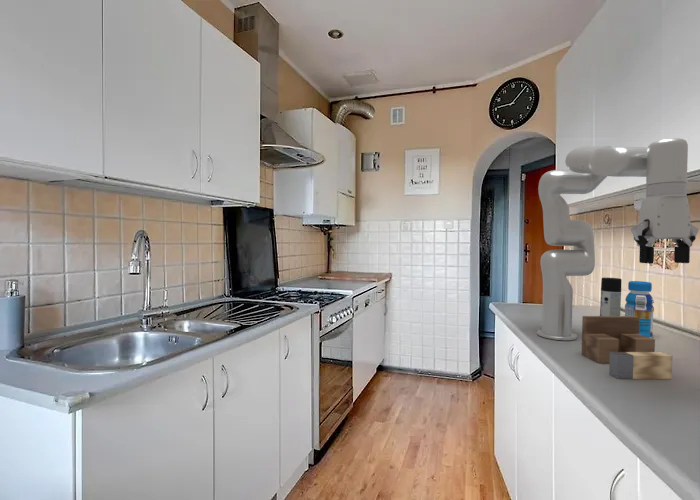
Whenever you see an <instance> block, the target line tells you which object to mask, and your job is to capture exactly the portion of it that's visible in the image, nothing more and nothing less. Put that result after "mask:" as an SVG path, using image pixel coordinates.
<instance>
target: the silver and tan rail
mask: <svg viewBox="0 0 700 500" xmlns="http://www.w3.org/2000/svg"><path fill="white" fill-rule="evenodd" d="M608 364H609V365H608V366H609V369H608V370H609V371H608V372H609V373H608V375H609V376H612V377H613V378H615V379H620V380H621V379H623V380H627V379H628V380H629V379H630V380H631V379H633V380H634V379H635V380H637V379H639V380H643V379H644V380H645V379H647V380H649V379H650V380H654V379H655V380H656V379H657V380H661V379H662V380H666V379H667V380H672V379H673V376H672V374H673V373H672V372H673V371H672V370H673V355H672V354H669V353H665V352H664V351H663V352H662V351H655V352H610V363H608Z"/></svg>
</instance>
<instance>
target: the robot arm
mask: <svg viewBox="0 0 700 500" xmlns="http://www.w3.org/2000/svg"><path fill="white" fill-rule="evenodd" d="M688 145H689V144H688V142H687V140H686V139H683V138H679V137H677V138H676V137H675V138H665V139H660V140H657V141H653V142H652V143H650V144H649V145H648V146H647V147H646V146H618V147H617V146H615V147H613V146H611V145H610V146H609V145H598V146H597V145H596V146H595V145H594V146H589V145H588V146H579V147H576V148H574V149H571V150H570V151H569V152H568V153H567V154H566V157H565V160H564V161H565V162H564V163H565V166H566V167H567V169H554V170H550V171H549V170H548V171H547V172H545V173H544V174H542V175H541V177H540V179H539V182H538V187H537V188H538V196H539V201H540V202H541V208H542V220H543V221H542V222H543V237H544V241H545V244H547V245H549V246H553V247H554V246H555V247H572V248H573V249H549V250H547V251H545V252H544V253H542V255H540V256H541V257H540V269H541V274H542V311H541V312H542V313H541V316H542V317H541V318H542V319H541V321H540V322H539V323H540V325H541V329H538V330H537V332H536V334H537V335H538V336H540V337H541V338H543V339H544V338H545V339H549V340H557V341H575V340H577V338H578V337H577V336H578V335H577V334H576V333H574V332H572V330H573V329H572V327H573V299H574V297H573V293H574V292H573V291H574V290H573V286H572V283H570V281H569V279H568V278H567V277H583V276H584V277H586V276H590V274H592V273H593V272H594V270H595V266H596V253H595V252H596V251H595V250H596V249H595V232H594V229H593V227H592V225H591V224H590V223H589V222H587V221H586V220H581V219H571V217H570V206H569V204H568V202H567V201H566V200H565V198H564V197H562V195H586V194H587V195H588V194H590V193H592V192H593V191H595V189H597V187H599V186H600V184H602V182H603V181H604V180H605V179H607V177H613V178H614V177H616V178H617V177H618V178H619V177H620V178H623V177H625V178H626V177H631V178H633V177H636V178H645V179H646V180H645V181H646V182H645V197H644V198H642V202H641V204H640V208H639V210H640V211H639V214H638V215H639V216H638V224H636V225H635V226H633V227H632V228H630V231H631V234H632V236H633V240H634V241H635V242H636V244H637V245H636V246H638V247H639V261H638V262H639V263H640V264H651V265H652V264H654V262H655V258H654V257H655V256H654V255H655V248H654V247H655V246H653V245H654V243H655V241H656V240H657V239H658V240H670V239H671V240H673V242H674V243H675V244H676V246H674V252H673V253H674V254H673V255H674V257H673V261H674V263H676V264H689V263H690V257H691V253H690V252H691V247H692V246H693V243H694V242H695V240H696V238H697V235H698V233H699V228H698V227H696V226H695V225H693V224H692V223H691V213H690V212H691V211H690V210H691V209H690V204H689V199H688V196H687V193H688V159H689V158H688V155H689V154H688V153H689V152H688V150H689V146H688Z"/></svg>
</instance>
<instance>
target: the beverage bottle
mask: <svg viewBox="0 0 700 500" xmlns="http://www.w3.org/2000/svg"><path fill="white" fill-rule="evenodd" d="M652 284H653V283H652V282H649V281H642V280H641V281H640V280H630V281H628V287H627V289H628V291H629V293H628V294H627V295H626V297H625V302H626V303H625V304H624V312H625V313H624V316H636V317H639V334H641V335H644V336H647V337H650V338H653V337H654V336H653V331H654V330H653V326H654V325H653V324H654V312H655V308H654V306H653V305H654V303H655V300H654V298H653V296H652V294H651V292H652V289H653V287H652V286H653V285H652Z"/></svg>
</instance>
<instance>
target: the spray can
mask: <svg viewBox="0 0 700 500" xmlns="http://www.w3.org/2000/svg"><path fill="white" fill-rule="evenodd" d="M600 284H601V285H600V304H599V305H600V307H599V309H600V310H599V316H621V307H622V304H621V303H622V284H623V283H622V278H618V277H601V283H600Z"/></svg>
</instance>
